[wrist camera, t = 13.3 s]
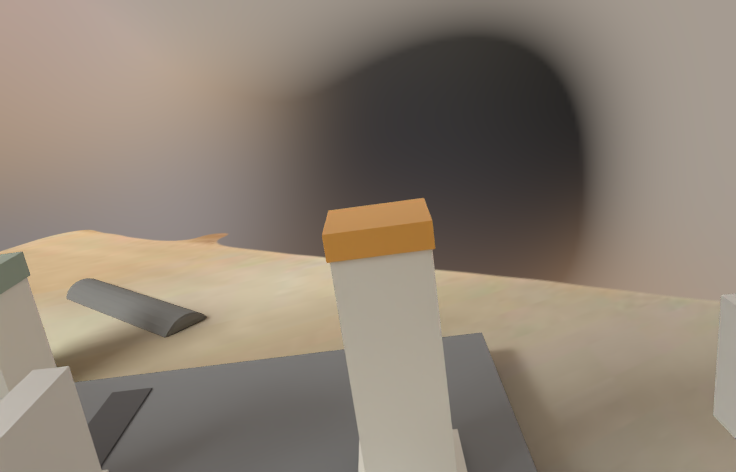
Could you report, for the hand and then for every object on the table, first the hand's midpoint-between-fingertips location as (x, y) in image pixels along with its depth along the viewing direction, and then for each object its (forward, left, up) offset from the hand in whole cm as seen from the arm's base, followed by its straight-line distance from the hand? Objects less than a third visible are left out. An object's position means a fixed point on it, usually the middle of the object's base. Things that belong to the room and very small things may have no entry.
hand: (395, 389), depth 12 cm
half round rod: (-36, +28, -13) cm, 48 cm away
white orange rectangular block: (-3, +9, -10) cm, 14 cm away
